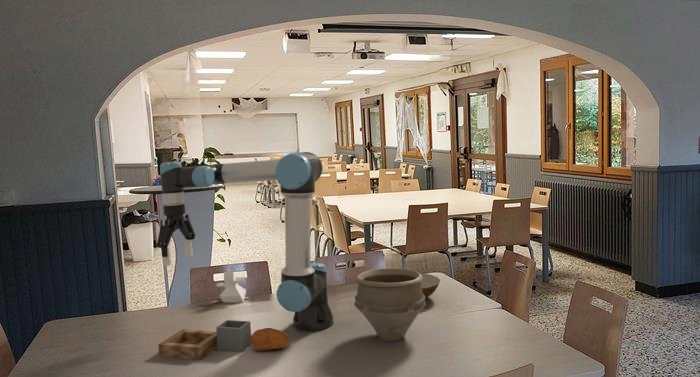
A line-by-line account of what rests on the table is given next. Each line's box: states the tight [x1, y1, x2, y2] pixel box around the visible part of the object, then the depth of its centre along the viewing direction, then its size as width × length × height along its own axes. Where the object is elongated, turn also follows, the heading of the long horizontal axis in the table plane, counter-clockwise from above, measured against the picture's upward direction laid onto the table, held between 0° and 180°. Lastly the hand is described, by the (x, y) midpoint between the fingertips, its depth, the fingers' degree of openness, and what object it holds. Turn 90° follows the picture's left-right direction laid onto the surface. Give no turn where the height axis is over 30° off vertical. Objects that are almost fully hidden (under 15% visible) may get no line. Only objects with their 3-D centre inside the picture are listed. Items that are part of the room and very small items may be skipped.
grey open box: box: [215, 319, 252, 353], centre depth 175 cm, size 9×7×8 cm
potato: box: [250, 327, 290, 352], centre depth 172 cm, size 7×13×7 cm, turn 86°
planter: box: [353, 267, 427, 342], centre depth 178 cm, size 25×24×22 cm
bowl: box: [419, 272, 441, 300], centre depth 219 cm, size 25×25×8 cm
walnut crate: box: [157, 329, 218, 360], centre depth 175 cm, size 15×14×4 cm
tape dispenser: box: [215, 271, 247, 303], centre depth 228 cm, size 8×14×14 cm, turn 84°
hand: (178, 261), depth 191 cm, fingers open, 13 cm apart
